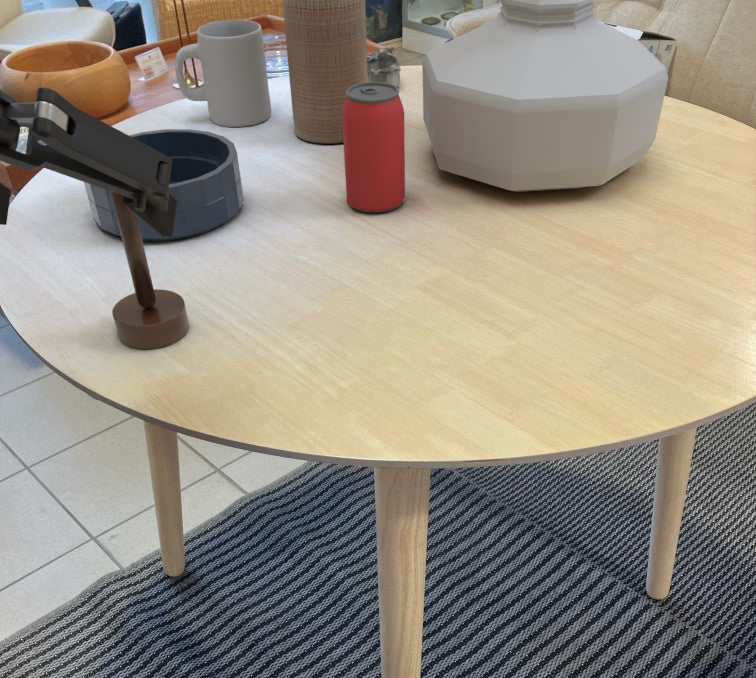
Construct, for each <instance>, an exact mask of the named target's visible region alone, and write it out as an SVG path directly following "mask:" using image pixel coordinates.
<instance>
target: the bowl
mask: <svg viewBox="0 0 756 678" xmlns="http://www.w3.org/2000/svg"><path fill="white" fill-rule="evenodd" d="M128 135H129V136H130V137H132V138H134V139H136V140H138V141H140V142H142V143H144V144H146V145H147V146H149V147H151V148H153V149H155V150H157V151H159V152H161V153H163V154H165V155H166V156H168V157H170V158H171V159H172V166H171V174H170V182H169V190H170V194H171V195H172V196H173V197H174V198H175V199H176V200H177V206H176V214H175V221H174V229H173V237H168V236H162V235H161V234H160V233H159V232H158V231H156V230H155V229H154V228H153V227H152V226H150V225H149V224H148V223H147V222H146V221H144V220H143V219H142V218H141V217H140V216H138V215H137V214H136V215H137V220H138V224H139V228H140V233H141V237H142V241H143V242H164V241H165V242H167V241H175V240H182V239H188V238H190V237H195V236H198V235H201V234H205V233H207V232H210V231H212V230H215V229H216V228H218V227H220V226H222V225H224V224H225V223H226V222H228V221H229V220H231V219H232V218H233V217H234V216H235V215H236V214H237V213H238V212H240V210H241V207H242V206H243V204H244V200H245V199H244V191H243V185H242V178H241V171H240V163H239V157H238V151H237V148H236V145H235V143H234V142H232V141H231V140H230V139H228V138H227V137H225V136H223V135H220V134H217V133H214V132H212V131H211V132H210V131H206V130H198V129H197V130H196V129H191V128H190V129H189V128H188V129H187V128H181V129H179V128H176V129H169V128H167V129H158V130H150V131H141V132H137V133H133V134H128ZM83 185H84V187H85V188H84V189H85V191H86V195H87V199H88V203H89V207H90V210H91V214H92V217H93V220H94V222H96V224H97V225H98V226H99V227H100V228H101V229H102V230H104V231H106V232H109V233H111V234H112V235H115V236H119V237H121V233H120V229H119V225H118V221H117V217H116V213H115V209H114V205H113V201H112V197H111V193H110V191H108V190H105V189H103V188H100V187H97V186H94V185H91V184H88V183H86V182H83Z"/></svg>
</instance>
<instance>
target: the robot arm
mask: <svg viewBox="0 0 756 678" xmlns="http://www.w3.org/2000/svg"><path fill="white" fill-rule="evenodd" d="M35 96H36V97H35V101H34V102H33V101H31V102H22V101H20V100H18V99H16V98H15V97H14V96H13V95H11V94H8V93H7V92H5V91H3V90H2V89H0V162H2V163H5V164H8V165H11V166H14V167H17V168H18V169H19V168H20V169H22V170H25V171H27V172H32V171H35V170H37V169H38V168H44V169H47V170H49V171H52V172H55V173H58V174H60V175H63V176H66V177H69V178H72V179H75V180H77V181H80V182H83V183H84V182H86V183H88V184H91V185H94V186H97V187H100V188H103V189H105V190H108V191H111V192H114V193H117V194H119V195H122V196H124V197H123V203H124V204H125V205H126V206H128V207H129V208H130V209H131V210H132V211H134V212H135V213H136V214H137V215H138V216H140V217H141V218H142V219H143V220H144V221H146V222H147V223H148V224H149V225H150V226H152V227H153V228H154V229H155V230H156V231H158V232H159V233H160V234H161V235H162V236H168V237H173V229H174V221H175V214H176V206H177V200H176V199H175V198H174V197H173V196H172V195H171V194H170V190H169V182H170V174H171V166H172V159H171V158H170V157H168V156H166V155H165V154H163V153H161V152H159V151H157V150H155V149H153V148H151V147H149V146H147V145H146V144H144V143H142V142H140V141H138V140H136V139H134V138H132V137H130V136H129V135H130V134H127V133H125V132H124V131H121V130H119V129H117V128H115V127H113V126H112V125H109V124H108V123H106V122H104V121H102V120H100V119H98V118H97V117H95V116H92V115H91V114H88V113H87V112H86V111H84V110H81V109H79V108H77V107H76V106H75V105H73V104H72V103H71V102H70V101H68V100H67V99H66V98H64V97H63V96H62V95H61V94H59V93H58V92H57V91H55V90H53V89H51V88H49V87H37V89H36V95H35ZM21 128H26V129H28V133H27V139H26V147H25V153H24V152H21V151H18V150H17V149H18V147H19V146H18V144H19V140H20V135H21ZM11 192H12V189H10V188H9V187H7V186H5V185H4V184H3V183H1V182H0V225H1V226H7V224H8V215H9V210H10V209H9V208H10V200H11Z"/></svg>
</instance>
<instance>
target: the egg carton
mask: <svg viewBox="0 0 756 678" xmlns="http://www.w3.org/2000/svg"><path fill="white" fill-rule="evenodd" d="M401 68H402V67H401V66H400V63H399V62H398V58H397V55H396V53H395V50H394V46H392V47H383V48H378V49H376V50H373V51H372V53H371V55H367V76H368V82H384V83H389V84H392V85H394V86H396V87H397V88H399V87H400V85H401V72H402V69H401Z"/></svg>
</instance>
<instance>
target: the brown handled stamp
mask: <svg viewBox="0 0 756 678" xmlns="http://www.w3.org/2000/svg"><path fill="white" fill-rule="evenodd" d="M110 193H111V197H112V201H113V205H114V209H115V213H116V217H117V221H118V225H119V229H120V233H121V236H120V237H121V241H122V244H123V248H124V253H125V256H126V260H127V264H128V268H129V273H130V276H131V281H132V285H133V288H134V293H131V294H128V295H126V296H125V297H123V298H121V299H119V300H118V301H117V302H116V303H115V305H114V306H113V307H112V312H111V313H112V318H113V321H114V325H115V328H116V333H117V336H118V339H119V341H120V342H121V343H122V344H123V345H125V346H127V347H128V348H131V349H137V350H155V349H157V350H158V349H160V348H165V347H168V346H171V345H173V344H175V343H177V342H179V341H180V340H182V339H183V338H184V337H185V336H186V335H187V333H188V331H189V329H190V322H189V318H188V317H189V316H188V311H187V308H186V303H185V300H184V298H183V296H181V295H180V294H178V293H177V292H175V291H172V290H167V289H159V288H158V289H154V285H153V280H152V275H151V272H150V268H149V267H150V266H149V263H148V259H147V255H146V254H147V253H146V250H145V246H144V241H142V237H141V233H140V228H139V224H138V220H137V215H136V213H135V212H134V211H132V210H131V209H130V208H129V207H128V206H126V205H125V204H124V203H123V197H124V196H122V195H119V194H117V193H114V192H111V191H110Z"/></svg>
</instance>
